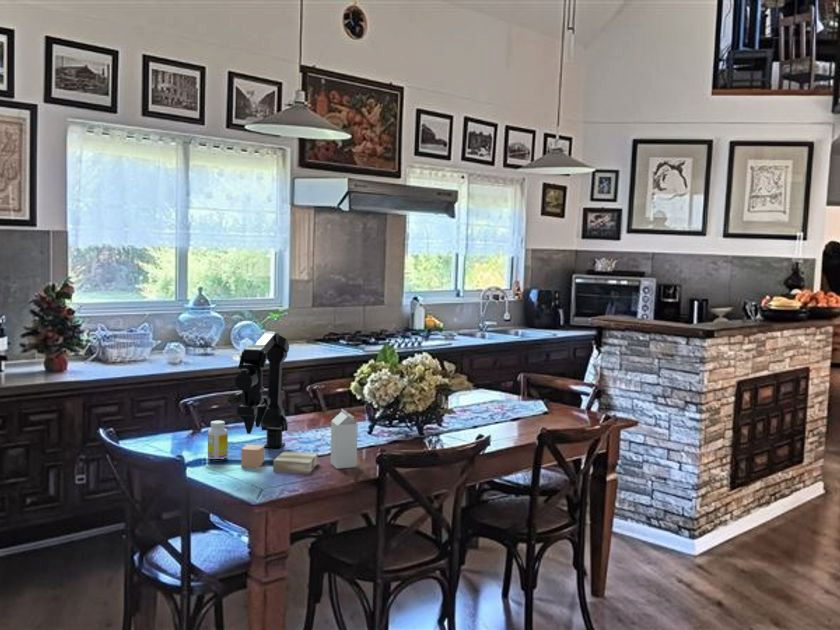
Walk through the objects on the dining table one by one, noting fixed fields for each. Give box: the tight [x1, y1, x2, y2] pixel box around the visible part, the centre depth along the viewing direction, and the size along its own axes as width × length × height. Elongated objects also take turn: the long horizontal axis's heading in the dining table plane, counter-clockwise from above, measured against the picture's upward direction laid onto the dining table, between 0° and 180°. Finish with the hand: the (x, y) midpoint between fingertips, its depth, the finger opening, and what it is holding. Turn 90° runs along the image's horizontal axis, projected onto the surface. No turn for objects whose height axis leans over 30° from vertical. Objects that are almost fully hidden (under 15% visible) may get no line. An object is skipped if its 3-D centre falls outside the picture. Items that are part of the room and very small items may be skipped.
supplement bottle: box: [207, 420, 229, 460], centre depth 281 cm, size 7×7×13 cm
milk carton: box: [330, 408, 359, 469], centre depth 277 cm, size 7×7×19 cm
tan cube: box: [240, 444, 265, 468], centre depth 275 cm, size 6×6×6 cm
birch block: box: [272, 450, 319, 475], centre depth 274 cm, size 12×12×4 cm
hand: (253, 430), depth 274 cm, fingers open, 9 cm apart
